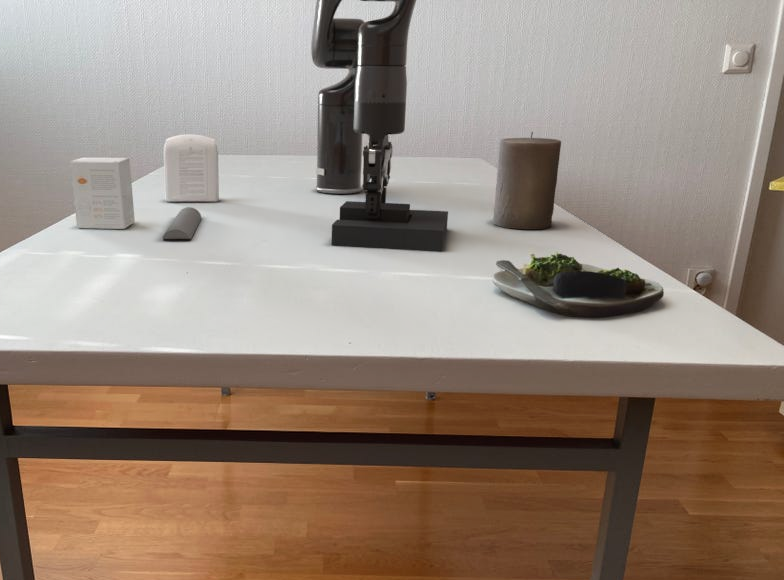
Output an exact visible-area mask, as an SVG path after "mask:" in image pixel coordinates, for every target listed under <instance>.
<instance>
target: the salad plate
mask: <svg viewBox="0 0 784 580" xmlns="http://www.w3.org/2000/svg"><path fill="white" fill-rule="evenodd" d="M530 259H531V261H530V262H528V263H524V264H523V268H517V267H516V266H515V265H514V264H513V262H511V261H510V260H506V259H505V260H504V259H502V260H496V263H495V265H496V267H497V268H498V269H499V270H500V271H497V272H495V273H493V275H492V284H493V285H494V286H495V287H497V288H498V289H499V290H501V291H503V292H504V293H506V294H507V295H509V296H511V298H514V299H517V300H519V301H522V302H524V303H525V302H526V303H528V304H530V305H533V306H535V307H537V308H539V309H542V310H545V311H549V312H552V313H555V314H558V315H563V316H569V317H570V316H571V317H579V318H608V317H615V316H622V315H628V314H633V313H639V312H642V311H645V310H647V309H649V308H651V307H652V306H653V305H654V304H655V303H657V302H658V301H660V300H661V299H662V298H664V295H665V291H664V287H663V286H662V285H661V284H660V283H659V282H657V281H654V280H652V279H648V278H642V277H640V276H639V274H637V273H635V272H632V271H631V270H628V269H620V267H616V268H612V269H606V268H602V267H599V266H595V265H591V264H588V263H581V262H579V261H577V259H575V256H568V255H566V254H562V253H559V252H557V251H556V252H555V254H550V256H542V257H541V256H540V257H536V255H535V254H534V253H531V254H530Z"/></svg>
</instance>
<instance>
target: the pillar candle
mask: <svg viewBox="0 0 784 580" xmlns="http://www.w3.org/2000/svg"><path fill="white" fill-rule="evenodd" d="M533 135H534V132H533V131H531V133H530V137H512V138H511V137H508V138H501V139H499V150H498V159H497V161H498V162H497V172H496V183H495V195H494V203H493V217H492V223H493V224H494V225H495V226H496V227H501V228H507V229H515V230H517V229H518V230H545V229H548V228H550V227H553V224H552V223H553V215H554V209H555V198H556V196H555V195H556V189H557V184H558V183H557V182H558V172H559V165H560V156H561V147H562V141H561V140H560V139H555V138H546V137H533Z"/></svg>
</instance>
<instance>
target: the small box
mask: <svg viewBox="0 0 784 580" xmlns="http://www.w3.org/2000/svg"><path fill="white" fill-rule="evenodd" d="M69 165H70V166H69V167H70V174H71V184H72V195H73V203H74V211H75V223H76V228H77V229H106V230H107V229H108V230H125V229H127V228H128V227H129V226H131V225H132V224H134V223H135V221H136V219H135V207H134V195H133V184H132V174H131V173H132V172H131V160H130V158H129V157H84V156H83V157H80V158H77V159H73V160H71V161H69Z"/></svg>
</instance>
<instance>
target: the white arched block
mask: <svg viewBox="0 0 784 580" xmlns="http://www.w3.org/2000/svg"><path fill="white" fill-rule="evenodd" d="M218 150H219V149H218V145H217V143H216V139H215V138H212V137H210V136H206V135H201V134H194V133H187V134H185V133H184V134H178V135H173V136H170V137H168V138H166V139H165V143H164V145H163V172H164V198H165V201H166V202H174V203H175V202H179V203H181V202H182V203H183V202H185V203H187V202H190V203H191V202H193V203H194V202H197V203H198V202H202V203H203V202H204V203H205V202H211V203H212V202H213V203H216V202H219V200H220V186H219V183H220V182H219V180H220V178H219V177H220V176H219V171H220V170H219V151H218Z"/></svg>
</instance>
